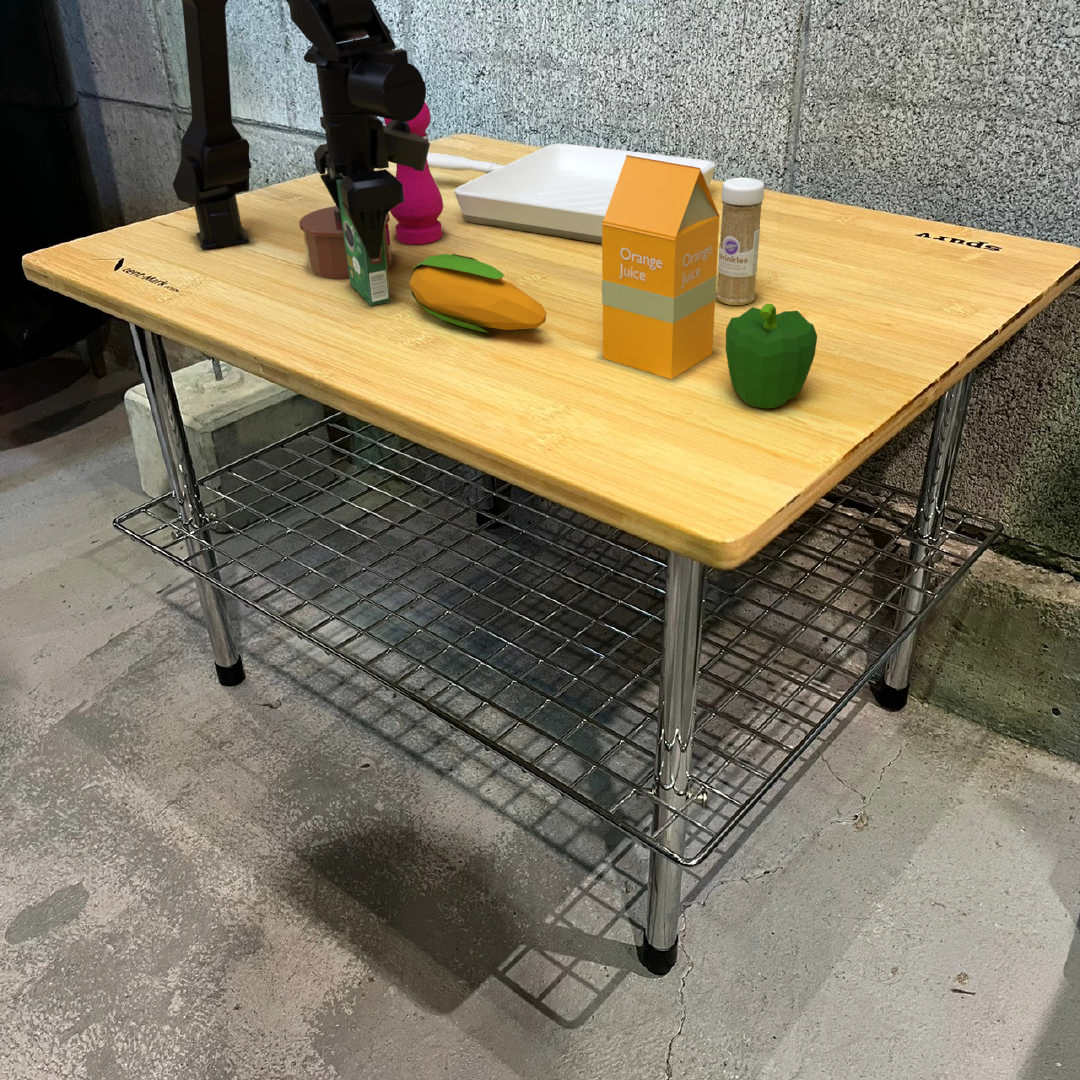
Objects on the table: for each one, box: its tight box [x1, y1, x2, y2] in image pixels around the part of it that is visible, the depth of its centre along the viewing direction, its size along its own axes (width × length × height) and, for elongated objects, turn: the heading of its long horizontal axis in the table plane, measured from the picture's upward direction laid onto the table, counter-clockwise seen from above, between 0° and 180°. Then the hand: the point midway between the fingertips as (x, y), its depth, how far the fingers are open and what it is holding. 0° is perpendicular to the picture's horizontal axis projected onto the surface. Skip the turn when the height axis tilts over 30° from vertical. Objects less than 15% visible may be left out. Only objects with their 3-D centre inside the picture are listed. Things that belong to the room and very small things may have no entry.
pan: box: [427, 142, 717, 245], centre depth 159 cm, size 28×45×5 cm, turn 58°
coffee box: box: [336, 178, 391, 307], centre depth 128 cm, size 8×3×13 cm, turn 26°
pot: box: [302, 222, 393, 280], centre depth 140 cm, size 11×11×6 cm
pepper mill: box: [383, 102, 444, 246], centre depth 144 cm, size 7×7×20 cm
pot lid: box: [298, 205, 391, 237], centre depth 138 cm, size 11×11×2 cm
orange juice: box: [601, 155, 721, 380], centre depth 109 cm, size 8×9×20 cm
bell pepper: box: [725, 303, 818, 409], centre depth 103 cm, size 8×8×10 cm
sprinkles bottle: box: [716, 177, 765, 306], centre depth 123 cm, size 5×5×13 cm
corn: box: [409, 253, 547, 334], centre depth 121 cm, size 7×8×20 cm
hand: (366, 247), depth 129 cm, fingers closed on coffee box, 8 cm apart
